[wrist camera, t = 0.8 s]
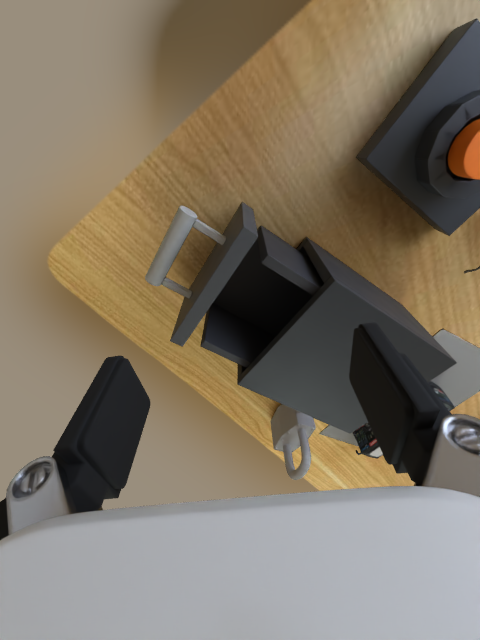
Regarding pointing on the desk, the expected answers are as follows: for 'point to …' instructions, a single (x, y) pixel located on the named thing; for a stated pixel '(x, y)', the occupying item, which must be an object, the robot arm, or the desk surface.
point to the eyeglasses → (471, 270)
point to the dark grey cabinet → (336, 345)
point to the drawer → (236, 285)
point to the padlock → (292, 437)
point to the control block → (432, 134)
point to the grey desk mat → (450, 386)
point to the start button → (466, 152)
